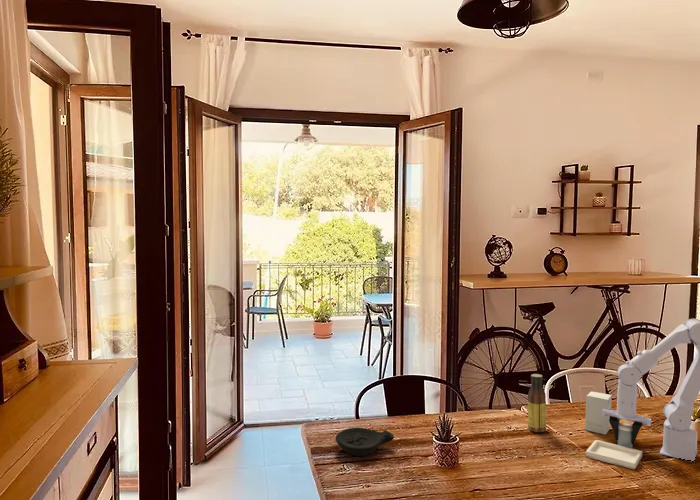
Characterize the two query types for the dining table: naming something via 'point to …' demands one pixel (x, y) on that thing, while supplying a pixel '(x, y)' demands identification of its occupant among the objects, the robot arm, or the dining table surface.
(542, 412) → the sauce bottle
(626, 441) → the cylinder
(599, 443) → the tray
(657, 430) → the dining table surface
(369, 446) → the oil lamp
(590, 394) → the supplement box
